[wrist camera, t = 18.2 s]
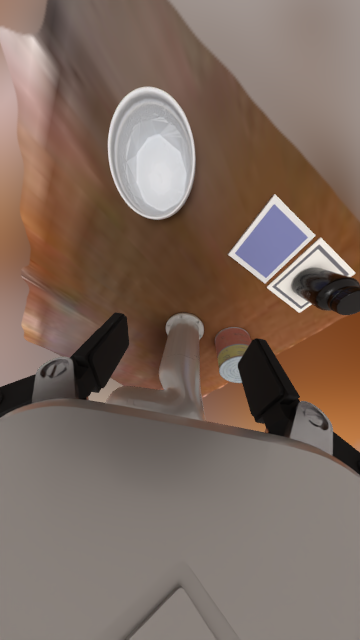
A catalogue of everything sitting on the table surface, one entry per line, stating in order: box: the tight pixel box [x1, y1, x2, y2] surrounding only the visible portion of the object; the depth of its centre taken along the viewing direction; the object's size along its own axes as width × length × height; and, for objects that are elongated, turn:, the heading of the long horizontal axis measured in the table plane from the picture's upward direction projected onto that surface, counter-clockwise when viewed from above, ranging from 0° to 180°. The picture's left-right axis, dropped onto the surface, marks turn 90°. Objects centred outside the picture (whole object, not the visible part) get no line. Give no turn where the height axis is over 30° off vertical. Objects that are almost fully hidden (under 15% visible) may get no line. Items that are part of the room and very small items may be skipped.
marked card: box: [267, 238, 355, 313], centre depth 33 cm, size 13×13×1 cm
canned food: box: [215, 327, 251, 383], centre depth 41 cm, size 11×11×12 cm
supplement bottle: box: [292, 268, 360, 315], centre depth 28 cm, size 7×7×12 cm
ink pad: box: [228, 195, 316, 283], centre depth 30 cm, size 12×12×1 cm
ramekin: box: [108, 87, 196, 220], centre depth 23 cm, size 13×13×7 cm
